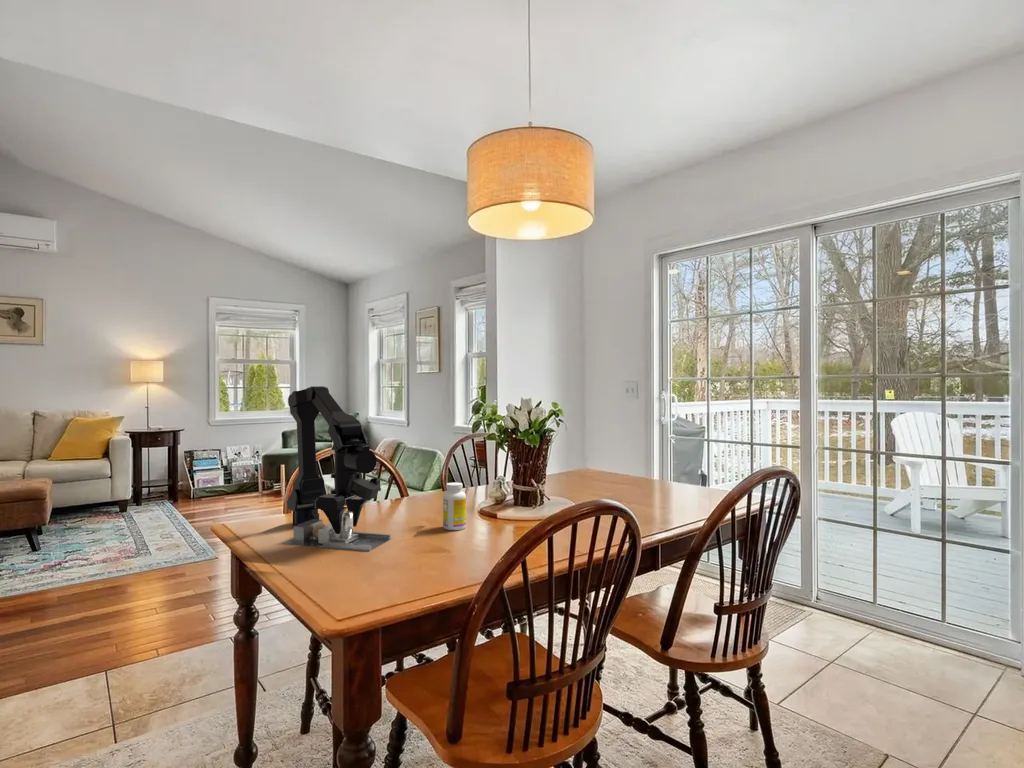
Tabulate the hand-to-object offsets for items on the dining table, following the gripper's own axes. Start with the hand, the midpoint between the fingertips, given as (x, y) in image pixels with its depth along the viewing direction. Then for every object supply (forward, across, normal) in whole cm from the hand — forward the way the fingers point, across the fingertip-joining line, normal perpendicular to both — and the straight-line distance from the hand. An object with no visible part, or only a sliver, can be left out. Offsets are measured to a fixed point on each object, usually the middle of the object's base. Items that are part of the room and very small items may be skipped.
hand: (346, 530), depth 147 cm
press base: (+4, 0, +2) cm, 5 cm away
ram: (+3, 0, +2) cm, 3 cm away
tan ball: (+3, 0, +7) cm, 8 cm away
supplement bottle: (+5, +26, -19) cm, 33 cm away
